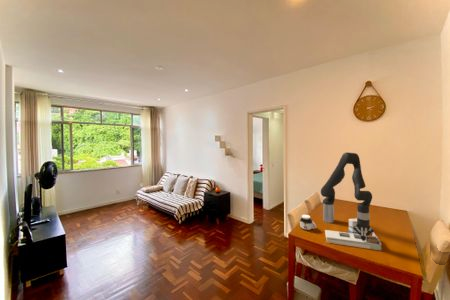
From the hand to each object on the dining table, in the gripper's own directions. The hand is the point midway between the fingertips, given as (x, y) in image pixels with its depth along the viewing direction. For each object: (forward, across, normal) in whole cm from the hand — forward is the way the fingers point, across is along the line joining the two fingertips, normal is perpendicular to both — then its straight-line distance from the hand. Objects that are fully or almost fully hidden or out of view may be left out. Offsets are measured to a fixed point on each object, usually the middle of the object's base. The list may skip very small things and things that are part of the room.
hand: (363, 240), depth 144 cm
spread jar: (+4, +37, -16) cm, 41 cm away
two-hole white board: (+4, +7, -4) cm, 9 cm away
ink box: (+4, +1, -18) cm, 18 cm away
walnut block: (+1, -5, 0) cm, 5 cm away
